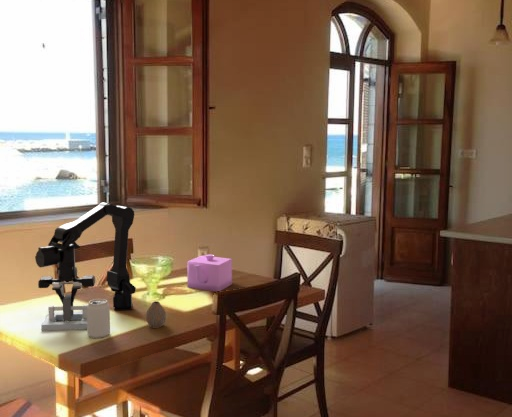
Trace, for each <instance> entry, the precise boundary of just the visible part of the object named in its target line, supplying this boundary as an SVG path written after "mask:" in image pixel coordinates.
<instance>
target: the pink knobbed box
mask: <svg viewBox="0 0 512 417" xmlns="http://www.w3.org/2000/svg"><path fill="white" fill-rule="evenodd" d="M186 265H187V268H186V269H187V276H186V277H187V282H186V283H187V288H189V289H195V290H196V289H197V290H203V291H209V292H217V291H219V292H221V291H223V290H224V289H226V288H228V287H229V286H232V284H233V282H232V281H233V259H232V258H228V257H219V256H215V255H214V254H206V255H203V254H202V255H200V256H198V257H194V258H192V259H190V260H188V261H187V264H186Z"/></svg>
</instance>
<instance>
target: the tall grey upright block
mask: <svg viewBox="0 0 512 417" xmlns="http://www.w3.org/2000/svg"><path fill="white" fill-rule="evenodd" d="M62 306H63V310H62V312H63V320H62V322H72V320H71V316H73V315H74V314H73V312H74V310H71V306H74V304H73V305H71V293H67V294H64V298H63V304H62Z"/></svg>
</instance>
